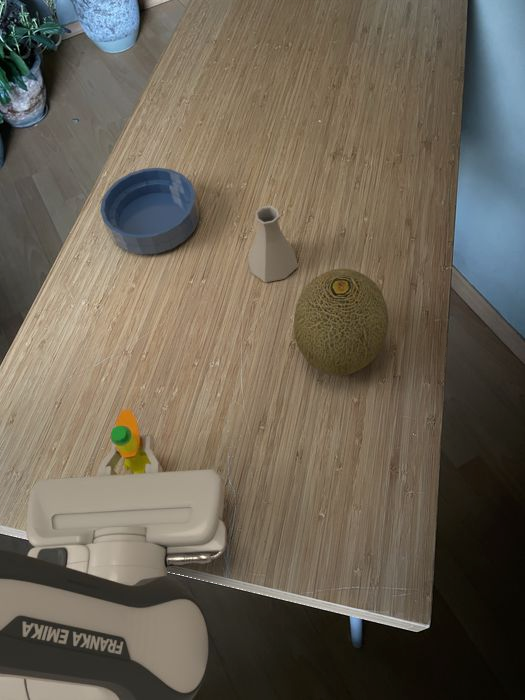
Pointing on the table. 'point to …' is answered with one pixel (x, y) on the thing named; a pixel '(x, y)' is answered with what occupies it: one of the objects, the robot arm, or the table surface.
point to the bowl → (150, 210)
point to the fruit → (340, 321)
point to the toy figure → (129, 442)
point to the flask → (271, 248)
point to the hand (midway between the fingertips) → (133, 437)
